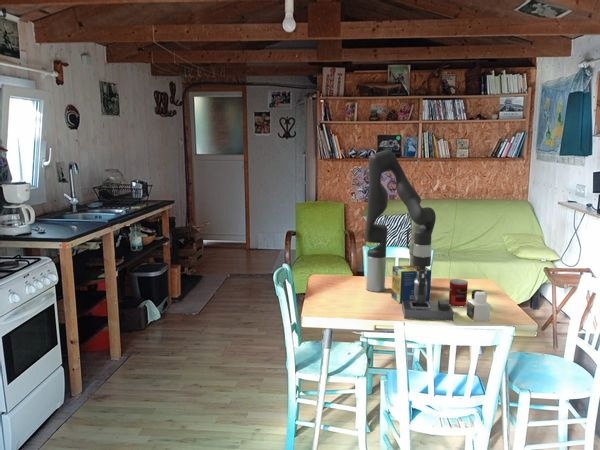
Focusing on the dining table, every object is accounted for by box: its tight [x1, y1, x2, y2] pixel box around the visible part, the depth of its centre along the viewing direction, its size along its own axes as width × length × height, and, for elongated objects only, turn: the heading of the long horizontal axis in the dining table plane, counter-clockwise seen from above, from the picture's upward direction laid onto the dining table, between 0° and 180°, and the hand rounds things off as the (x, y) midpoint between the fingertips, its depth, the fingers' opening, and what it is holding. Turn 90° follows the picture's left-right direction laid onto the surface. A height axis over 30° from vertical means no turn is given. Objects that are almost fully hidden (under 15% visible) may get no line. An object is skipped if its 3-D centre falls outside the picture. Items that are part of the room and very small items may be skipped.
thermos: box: [406, 220, 420, 266], centre depth 263 cm, size 9×12×35 cm
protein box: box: [391, 264, 432, 305], centre depth 243 cm, size 10×15×16 cm
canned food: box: [448, 278, 469, 307], centre depth 237 cm, size 8×8×11 cm
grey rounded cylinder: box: [414, 278, 427, 304], centre depth 222 cm, size 5×5×10 cm
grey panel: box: [401, 299, 454, 322], centre depth 222 cm, size 14×20×6 cm
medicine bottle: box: [466, 289, 491, 322], centre depth 218 cm, size 7×7×12 cm
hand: (420, 292), depth 222 cm, fingers closed on grey rounded cylinder, 5 cm apart
